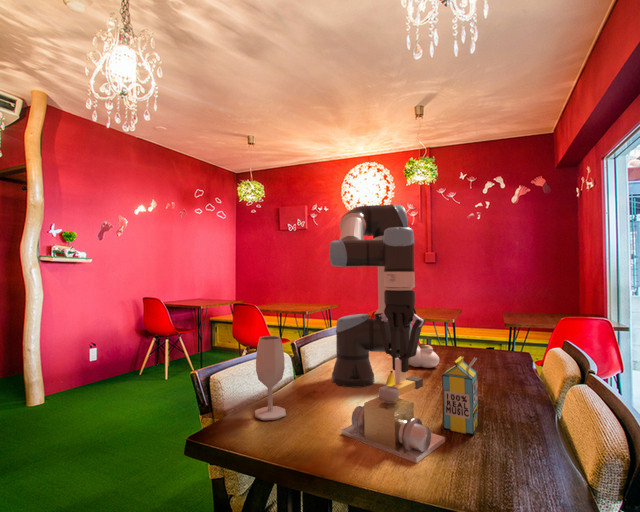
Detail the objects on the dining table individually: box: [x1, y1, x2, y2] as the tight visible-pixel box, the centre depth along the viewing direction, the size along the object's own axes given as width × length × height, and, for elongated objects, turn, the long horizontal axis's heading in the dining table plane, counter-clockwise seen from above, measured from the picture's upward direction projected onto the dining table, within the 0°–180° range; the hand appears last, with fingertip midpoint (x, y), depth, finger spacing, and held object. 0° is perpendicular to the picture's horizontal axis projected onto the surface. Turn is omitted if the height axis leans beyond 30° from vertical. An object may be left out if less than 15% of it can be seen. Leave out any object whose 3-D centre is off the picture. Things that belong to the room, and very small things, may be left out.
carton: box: [441, 356, 479, 437], centre depth 92 cm, size 7×8×18 cm
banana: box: [385, 370, 395, 386], centre depth 112 cm, size 3×19×6 cm, turn 162°
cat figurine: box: [408, 344, 440, 369], centre depth 151 cm, size 10×8×15 cm
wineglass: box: [254, 335, 287, 421], centre depth 101 cm, size 9×9×21 cm
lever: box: [378, 375, 424, 401], centre depth 88 cm, size 15×4×2 cm, turn 136°
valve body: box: [340, 396, 446, 464], centre depth 87 cm, size 20×13×10 cm, turn 46°
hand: (400, 384), depth 91 cm, fingers closed
